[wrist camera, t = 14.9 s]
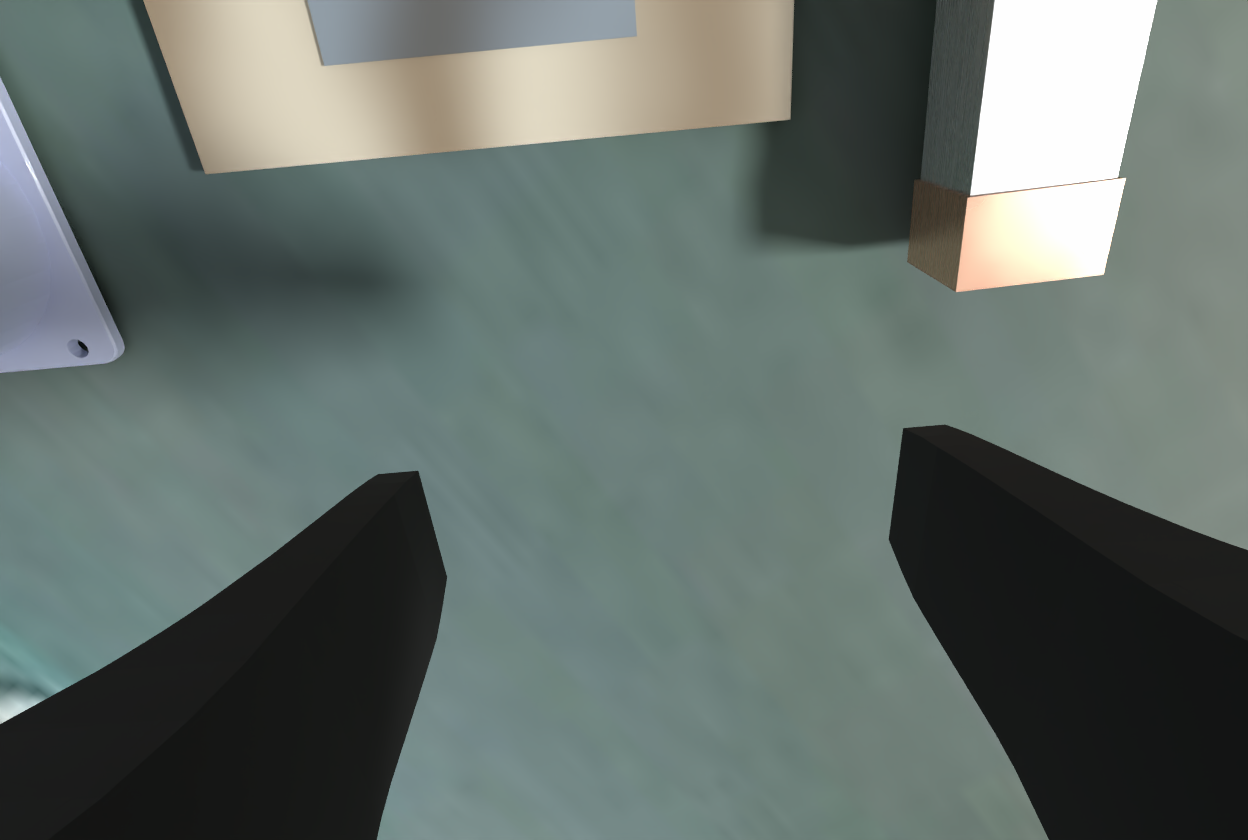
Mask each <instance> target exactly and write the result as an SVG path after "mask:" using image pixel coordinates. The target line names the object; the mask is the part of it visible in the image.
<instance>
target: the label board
mask: <svg viewBox="0 0 1248 840" xmlns="http://www.w3.org/2000/svg"><path fill="white" fill-rule="evenodd" d="M143 1H144V4H145V7H146V9H147V12H148V15H149V18H150V21H151V23H152V26H153V29H154V32H155V35H156V37H157V40H158V43H159V46H160V48H161V51H162V54H163V57H164V60H165V62H166V65H167V68H168V71H169V74H170V76H171V79H172V82H173V85H174V87H175V90H176V93H177V96H178V99H179V101H180V104H181V107H182V110H183V113H184V115H185V118H186V121H187V124H188V126H189V129H190V132H191V135H192V138H193V140H194V143H195V146H196V149H197V152H198V154H199V157H200V160H201V163H202V166H203V168H204V171H205V174H214V173H225V172H235V171H246V170H257V169H267V168H278V167H289V166H299V165H310V164H321V163H332V162H342V161H353V160H364V159H374V158H385V157H396V156H407V155H417V154H428V153H439V152H449V151H460V150H471V149H482V148H492V147H503V146H514V145H524V144H535V143H546V142H557V141H567V140H578V139H589V138H599V137H610V136H621V135H632V134H642V133H653V132H664V131H674V130H685V129H696V128H706V127H717V126H728V125H739V124H749V123H760V122H771V121H781V120H790V117H791V84H792V52H793V20H794V0H143Z"/></svg>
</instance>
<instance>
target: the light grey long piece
mask: <svg viewBox="0 0 1248 840" xmlns="http://www.w3.org/2000/svg"><path fill="white" fill-rule="evenodd" d="M1156 2H1157V0H937V5H936V16H935V27H934V37H933V48H932V59H931V70H930V81H929V92H928V103H927V114H926V125H925V136H924V147H923V158H922V169H921V179H916V180H914V192H913V203H912V214H911V226H910V237H909V249H908V260H907V262H908V263H910V264H911V265H913V266H915V267H916V268H918V269H919V270H921V271H923V272H924V273H926V274H928V275H929V276H931V277H932V278H934V279H936V280H937V281H939V282H940V283H942V284H944V285H945V286H947V287H949V288H950V289H952V290H953V291H955V292H960V291H969V290H977V289H986V288H994V287H1003V286H1011V285H1019V284H1028V283H1036V282H1045V281H1053V280H1062V279H1070V278H1078V277H1087V276H1095V275H1103V274H1104V270H1105V265H1106V261H1107V257H1108V252H1109V248H1110V244H1111V239H1112V235H1113V231H1114V226H1115V222H1116V217H1117V213H1118V209H1119V204H1120V200H1121V196H1122V191H1123V187H1124V183H1125V178H1120V177H1118V172H1119V168H1120V163H1121V159H1122V154H1123V150H1124V145H1125V141H1126V136H1127V132H1128V127H1129V123H1130V118H1131V114H1132V109H1133V105H1134V100H1135V96H1136V91H1137V87H1138V82H1139V78H1140V74H1141V69H1142V65H1143V60H1144V56H1145V51H1146V47H1147V42H1148V38H1149V33H1150V29H1151V24H1152V20H1153V15H1154V11H1155V6H1156Z"/></svg>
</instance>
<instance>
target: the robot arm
mask: <svg viewBox="0 0 1248 840" xmlns="http://www.w3.org/2000/svg"><path fill="white" fill-rule="evenodd" d="M78 340H80V341H81V342H83V343H84V344H85V345H86V346H87V347H88V351H89V352H87V351H85V350H83V349H82V348H81V347H80V346H79V344H78ZM124 348H125V347H124V343H123V340H122V337H121V335H120V333H119V331H118V329H117V327H116V325H115V322H114V320H113V318H112V316H111V314H110V312H109V310H108V307H107V305H106V303H105V301H104V299H103V297H102V295H101V292H100V290H99V288H98V286H97V284H96V282H95V280H94V277H93V275H92V273H91V271H90V269H89V267H88V264H87V262H86V260H85V258H84V256H83V254H82V252H81V249H80V247H79V245H78V243H77V241H76V239H75V237H74V234H73V232H72V230H71V228H70V226H69V224H68V222H67V219H66V217H65V215H64V213H63V211H62V209H61V207H60V204H59V202H58V200H57V198H56V196H55V194H54V192H53V189H52V187H51V185H50V183H49V181H48V179H47V176H46V174H45V172H44V170H43V168H42V166H41V164H40V161H39V159H38V157H37V155H36V153H35V151H34V149H33V146H32V144H31V142H30V140H29V138H28V136H27V134H26V131H25V129H24V127H23V125H22V123H21V121H20V119H19V116H18V114H17V112H16V110H15V108H14V106H13V104H12V101H11V99H10V97H9V95H8V93H7V91H6V89H5V86H4V84H3V82H2V80H1V78H0V373H5V372H16V371H27V370H38V369H50V368H61V367H72V366H83V365H94V364H105V363H109V362H112V361H114V360H116V359H117V358H119V357H120V356H121V355H122V354H123V352H124ZM889 541H890V544H891V546H892V549H893V551H894V554H895V556H896V558H897V561H898V563H899V566H900V568H901V571H902V573H903V575H904V578H905V580H906V582H907V584H908V586H909V589H910V591H911V593H912V595H913V598H914V599H915V601H916V603H917V605H918V606H919V608H920V610H921V611H922V613H923V615H924V617H925V618H926V620H927V622H928V623H929V625H930V627H931V628H932V630H933V632H934V633H935V635H936V637H937V638H938V640H939V642H940V643H941V645H942V647H943V648H944V650H945V652H946V653H947V655H948V656H949V658H950V660H951V661H952V663H953V665H954V666H955V668H956V670H957V671H958V673H959V675H960V676H961V678H962V679H963V681H964V683H965V684H966V686H967V688H968V689H969V691H970V693H971V694H972V696H973V698H974V699H975V701H976V702H977V704H978V706H979V707H980V709H981V711H982V712H983V714H984V716H985V717H986V719H987V721H988V722H989V724H990V725H991V727H992V729H993V730H994V732H995V734H996V735H997V737H998V739H999V741H1000V743H1001V744H1002V746H1003V748H1004V750H1005V752H1006V753H1007V755H1008V757H1009V759H1010V761H1011V763H1012V764H1013V766H1014V768H1015V770H1016V772H1017V774H1018V776H1019V778H1020V780H1021V782H1022V784H1023V787H1024V789H1025V791H1026V793H1027V795H1028V797H1029V799H1030V801H1031V803H1032V805H1033V807H1034V809H1035V811H1036V814H1037V816H1038V818H1039V820H1040V822H1041V824H1042V826H1043V828H1044V830H1045V832H1046V834H1047V836H1048V839H1049V840H1248V550H1245V549H1243V548H1240V547H1237V546H1234V545H1231V544H1228V543H1225V542H1222V541H1219V540H1217V539H1214V538H1211V537H1209V536H1206V535H1203V534H1201V533H1198V532H1195V531H1193V530H1190V529H1187V528H1185V527H1182V526H1180V525H1177V524H1175V523H1172V522H1170V521H1167V520H1165V519H1162V518H1160V517H1157V516H1155V515H1153V514H1150V513H1148V512H1145V511H1143V510H1140V509H1138V508H1135V507H1133V506H1130V505H1128V504H1125V503H1123V502H1121V501H1118V500H1116V499H1114V498H1112V497H1109V496H1107V495H1105V494H1102V493H1100V492H1098V491H1095V490H1093V489H1091V488H1089V487H1086V486H1084V485H1082V484H1080V483H1077V482H1075V481H1073V480H1071V479H1069V478H1066V477H1064V476H1062V475H1060V474H1058V473H1055V472H1053V471H1051V470H1049V469H1047V468H1044V467H1042V466H1040V465H1038V464H1036V463H1034V462H1031V461H1029V460H1027V459H1025V458H1023V457H1021V456H1018V455H1016V454H1014V453H1012V452H1010V451H1008V450H1005V449H1003V448H1001V447H999V446H997V445H994V444H992V443H990V442H988V441H985V440H983V439H981V438H979V437H976V436H974V435H972V434H969V433H967V432H964V431H962V430H959V429H956V428H953V427H950V426H948V425H935V426H924V427H913V428H903V434H902V442H901V450H900V457H899V465H898V473H897V480H896V488H895V496H894V503H893V511H892V519H891V527H890V534H889ZM446 581H447V575H446V572H445V568H444V564H443V561H442V557H441V553H440V550H439V546H438V542H437V538H436V535H435V531H434V527H433V524H432V520H431V516H430V513H429V509H428V505H427V501H426V498H425V494H424V490H423V487H422V483H421V479H420V476H419V472H418V471H410V472H399V473H387V474H378V475H376V476H374V477H373V478H371V479H370V480H368V481H367V482H365V483H364V484H362V485H361V486H360V487H358V488H357V489H356V490H354V491H353V492H352V493H350V494H349V495H348V496H346V497H345V498H344V499H343V500H341V501H340V502H339V503H337V504H336V505H335V506H334V507H332V508H331V509H330V510H329V511H327V512H326V513H325V514H323V515H322V516H321V517H320V518H318V519H317V520H316V521H315V522H313V523H312V524H311V525H309V526H308V527H307V528H306V529H304V530H303V531H302V532H300V533H299V534H298V535H297V536H295V537H294V538H293V539H291V540H290V541H289V542H288V543H286V544H285V545H284V546H283V547H281V548H280V549H279V550H277V551H276V552H275V553H273V554H272V555H271V556H270V557H268V558H267V559H265V560H264V561H263V562H261V563H260V564H259V565H257V566H256V567H254V568H253V569H252V570H250V571H249V572H247V573H246V574H245V575H243V576H242V577H241V578H239V579H238V580H236V581H235V582H234V583H232V584H231V585H229V586H228V587H227V588H225V589H224V590H223V591H221V592H220V593H218V594H217V595H216V596H214V597H213V598H212V599H210V600H209V601H207V602H206V603H205V604H203V605H202V606H200V607H199V608H197V609H196V610H194V611H193V612H191V613H190V614H188V615H187V616H185V617H184V618H182V619H181V620H179V621H178V622H176V623H175V624H173V625H172V626H170V627H168V628H167V629H165V630H164V631H162V632H161V633H159V634H157V635H156V636H154V637H153V638H151V639H149V640H148V641H146V642H145V643H143V644H141V645H140V646H138V647H136V648H135V649H133V650H132V651H130V652H128V653H127V654H125V655H123V656H122V657H120V658H119V659H117V660H115V661H114V662H112V663H110V664H108V665H107V666H105V667H103V668H102V669H100V670H98V671H97V672H95V673H93V674H91V675H89V676H87V677H86V678H84V679H82V680H80V681H78V682H77V683H75V684H73V685H71V686H69V687H67V688H66V689H64V690H62V691H60V692H58V693H56V694H55V695H53V696H51V697H49V698H47V699H45V700H44V701H42V702H40V703H38V704H36V705H35V706H33V707H31V708H29V709H27V710H25V711H24V712H22V713H20V714H18V715H16V716H14V717H13V718H11V719H9V720H7V721H5V722H3V723H2V724H0V840H377V836H378V831H379V826H380V822H381V817H382V814H383V810H384V807H385V803H386V799H387V796H388V792H389V788H390V785H391V781H392V778H393V775H394V772H395V769H396V766H397V763H398V759H399V756H400V753H401V750H402V747H403V744H404V741H405V738H406V734H407V731H408V728H409V725H410V722H411V719H412V716H413V713H414V709H415V706H416V703H417V700H418V697H419V694H420V691H421V687H422V684H423V681H424V678H425V675H426V671H427V668H428V665H429V662H430V659H431V655H432V652H433V649H434V645H435V642H436V639H437V634H438V628H439V623H440V618H441V612H442V606H443V600H444V593H445V587H446Z"/></svg>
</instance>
